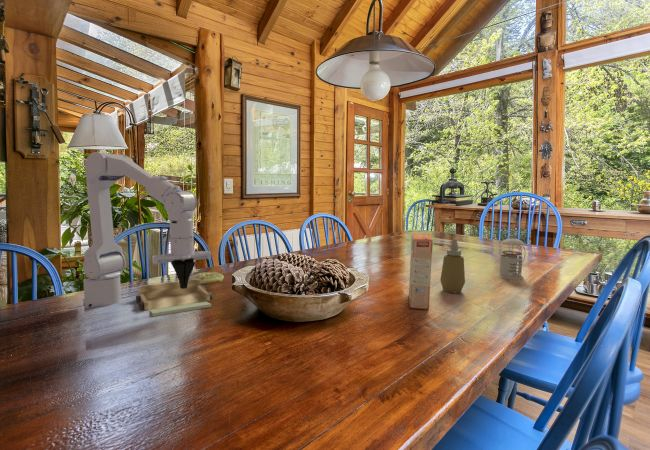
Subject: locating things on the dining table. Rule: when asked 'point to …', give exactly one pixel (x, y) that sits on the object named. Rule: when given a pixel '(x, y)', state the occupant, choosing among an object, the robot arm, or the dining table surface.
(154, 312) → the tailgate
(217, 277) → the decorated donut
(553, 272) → the dining table surface
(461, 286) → the squeeze bottle
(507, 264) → the french press
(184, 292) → the cart
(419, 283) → the cracker box
